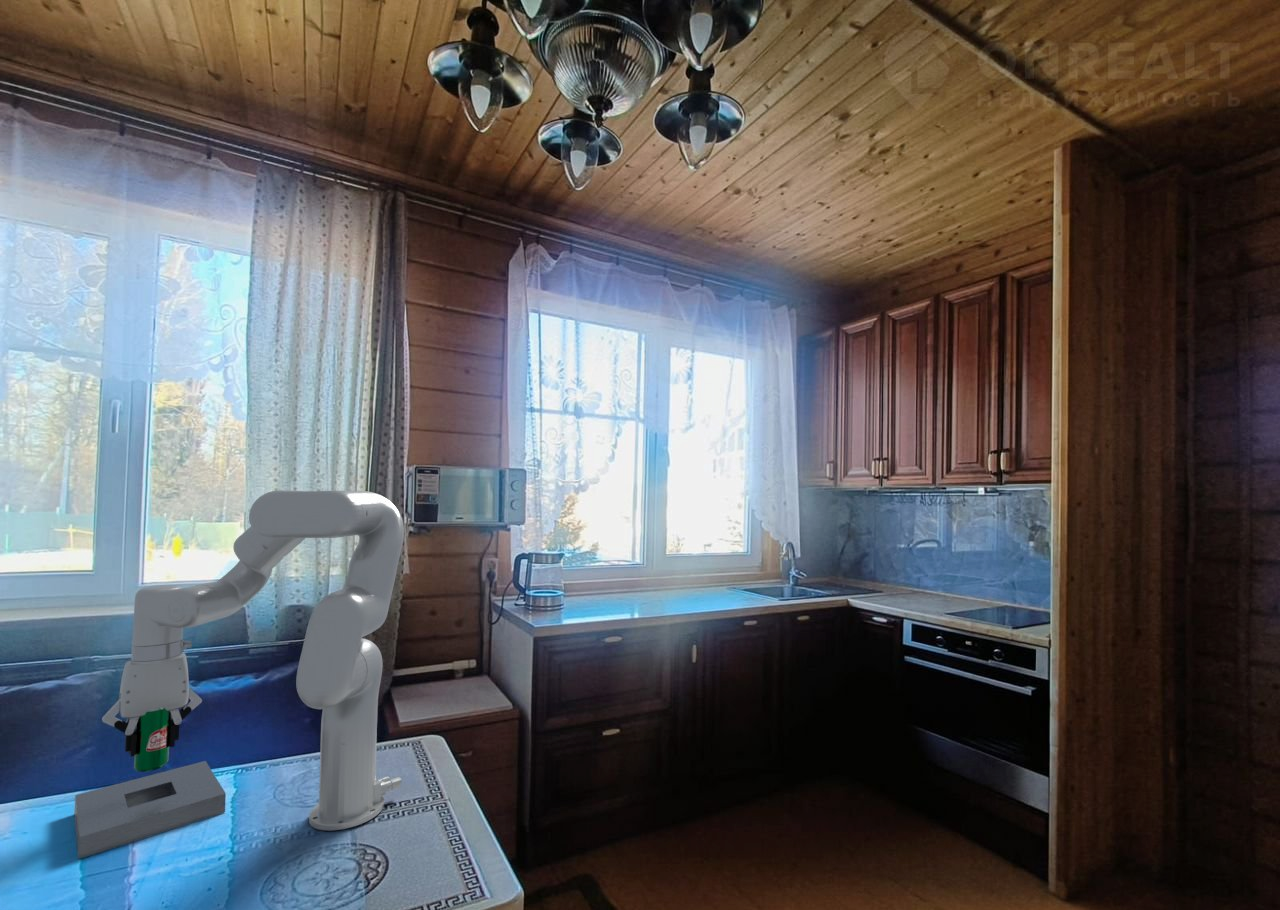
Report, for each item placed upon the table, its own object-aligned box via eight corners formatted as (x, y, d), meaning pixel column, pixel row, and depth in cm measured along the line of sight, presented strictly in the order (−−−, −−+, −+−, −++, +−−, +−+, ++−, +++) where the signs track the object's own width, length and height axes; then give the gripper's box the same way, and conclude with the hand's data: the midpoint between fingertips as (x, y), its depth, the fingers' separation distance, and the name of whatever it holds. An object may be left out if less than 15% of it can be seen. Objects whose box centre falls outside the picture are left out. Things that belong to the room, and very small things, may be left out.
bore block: (204, 777, 125) (205, 760, 125) (224, 812, 111) (225, 793, 111) (74, 814, 111) (75, 795, 111) (78, 859, 97) (79, 837, 97)
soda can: (148, 774, 109) (152, 707, 110) (126, 772, 110) (130, 705, 111) (175, 762, 114) (178, 698, 115) (153, 760, 115) (157, 696, 116)
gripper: (207, 640, 122) (203, 731, 121) (95, 656, 110) (89, 757, 109) (215, 646, 117) (210, 742, 115) (98, 664, 105) (91, 770, 103)
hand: (152, 748), depth 112 cm, fingers closed on soda can, 5 cm apart
